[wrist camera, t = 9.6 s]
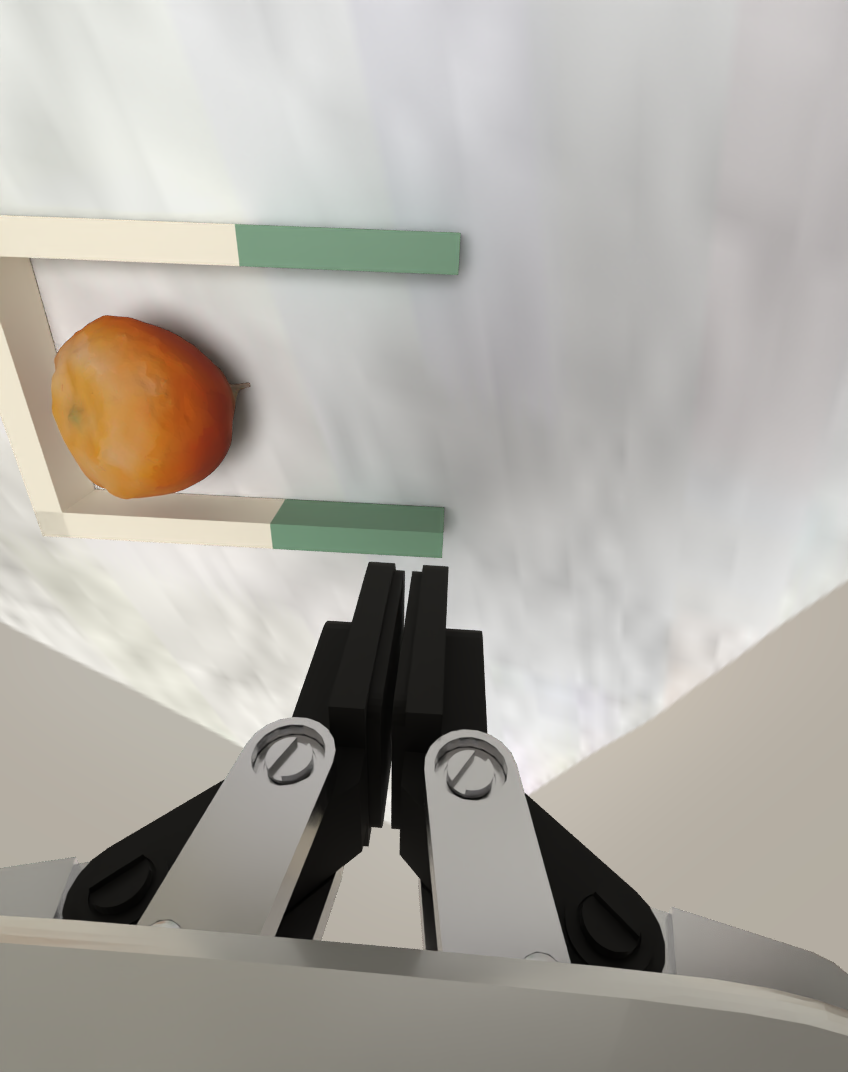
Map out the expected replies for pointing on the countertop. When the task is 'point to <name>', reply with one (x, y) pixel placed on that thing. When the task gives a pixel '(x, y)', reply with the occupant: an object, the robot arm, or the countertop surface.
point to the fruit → (141, 407)
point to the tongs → (85, 512)
